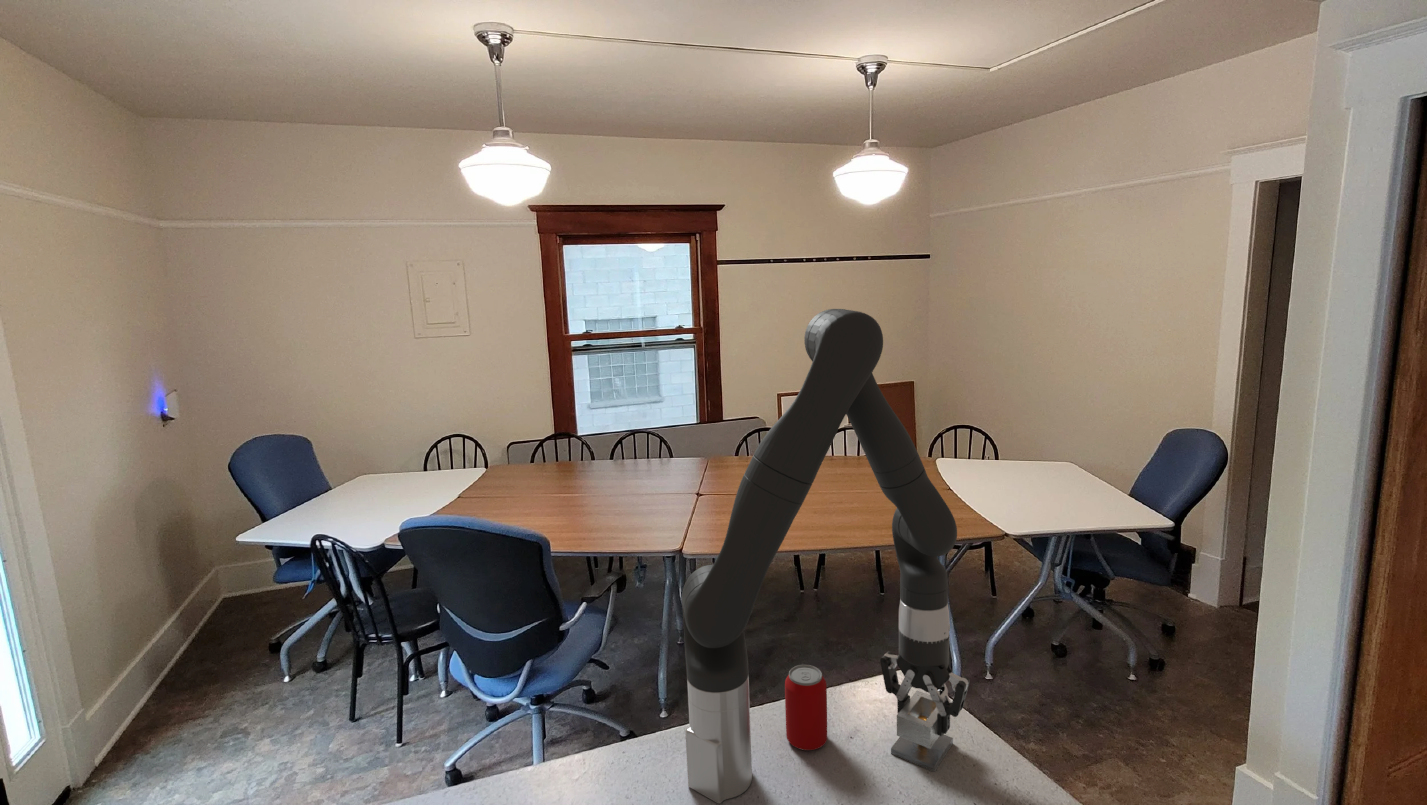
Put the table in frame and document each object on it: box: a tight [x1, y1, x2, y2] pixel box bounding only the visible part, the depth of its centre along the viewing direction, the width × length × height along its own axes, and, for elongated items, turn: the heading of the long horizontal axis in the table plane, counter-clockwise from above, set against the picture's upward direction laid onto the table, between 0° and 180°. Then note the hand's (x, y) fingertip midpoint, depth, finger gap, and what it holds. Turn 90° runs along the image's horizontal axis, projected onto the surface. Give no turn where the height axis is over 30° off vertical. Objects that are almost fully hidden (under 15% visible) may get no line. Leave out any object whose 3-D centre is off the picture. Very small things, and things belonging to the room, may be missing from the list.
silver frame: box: [896, 690, 939, 749], centre depth 106 cm, size 8×5×4 cm
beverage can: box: [784, 664, 828, 751], centre depth 109 cm, size 7×7×12 cm
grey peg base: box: [890, 715, 954, 773], centre depth 107 cm, size 8×7×5 cm
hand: (923, 725), depth 106 cm, fingers closed on silver frame, 5 cm apart
